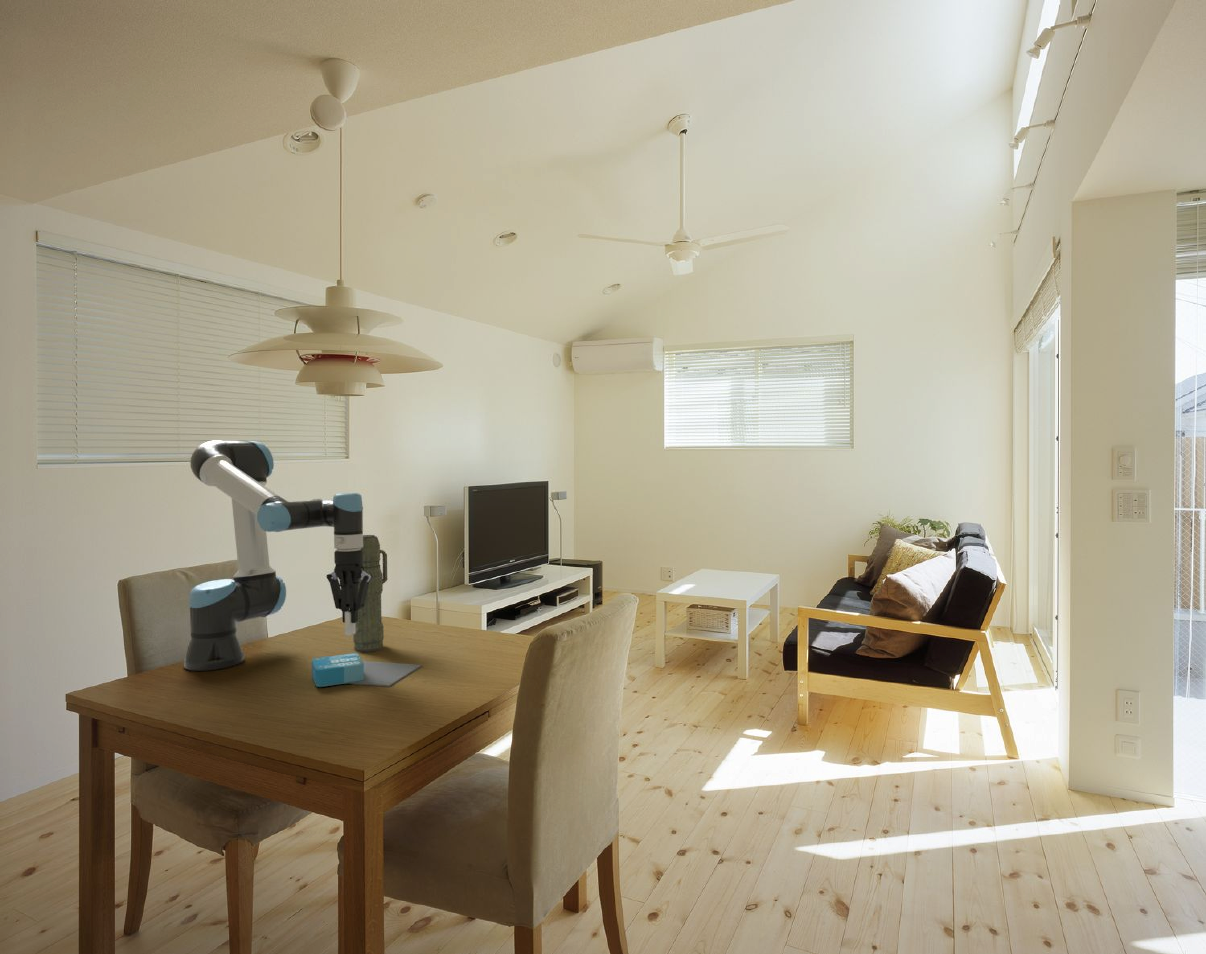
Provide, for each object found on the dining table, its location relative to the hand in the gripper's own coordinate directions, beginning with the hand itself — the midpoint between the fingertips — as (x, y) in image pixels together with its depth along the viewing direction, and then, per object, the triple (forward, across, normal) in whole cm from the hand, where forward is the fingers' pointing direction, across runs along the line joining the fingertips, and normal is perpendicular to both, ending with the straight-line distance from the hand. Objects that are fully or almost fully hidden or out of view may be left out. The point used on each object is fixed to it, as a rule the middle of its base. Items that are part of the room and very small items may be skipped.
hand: (350, 634), depth 196 cm
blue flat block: (+8, -4, -2) cm, 9 cm away
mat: (+11, +7, 0) cm, 13 cm away
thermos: (+11, -8, +23) cm, 27 cm away
